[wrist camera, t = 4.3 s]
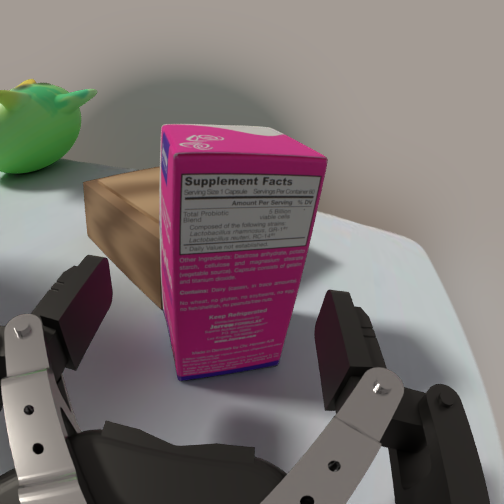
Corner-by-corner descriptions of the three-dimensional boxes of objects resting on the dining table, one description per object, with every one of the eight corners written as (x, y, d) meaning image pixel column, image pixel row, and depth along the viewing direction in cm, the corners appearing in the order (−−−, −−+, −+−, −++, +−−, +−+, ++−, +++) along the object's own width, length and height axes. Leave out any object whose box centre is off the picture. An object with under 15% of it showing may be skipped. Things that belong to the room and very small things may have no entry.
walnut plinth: (87, 235, 26) (83, 179, 23) (190, 205, 34) (193, 158, 31) (161, 309, 19) (159, 235, 17) (277, 252, 28) (289, 195, 25)
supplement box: (159, 311, 19) (160, 120, 14) (248, 302, 21) (277, 127, 16) (173, 385, 15) (172, 145, 9) (281, 368, 17) (338, 156, 11)
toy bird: (60, 150, 50) (62, 75, 43) (101, 167, 43) (104, 70, 36) (-24, 175, 37) (-28, 90, 30) (-9, 200, 30) (-17, 85, 22)
